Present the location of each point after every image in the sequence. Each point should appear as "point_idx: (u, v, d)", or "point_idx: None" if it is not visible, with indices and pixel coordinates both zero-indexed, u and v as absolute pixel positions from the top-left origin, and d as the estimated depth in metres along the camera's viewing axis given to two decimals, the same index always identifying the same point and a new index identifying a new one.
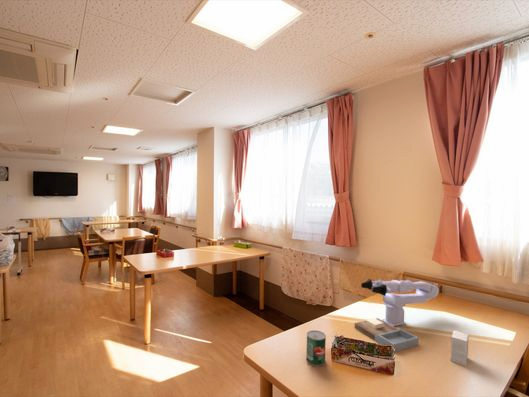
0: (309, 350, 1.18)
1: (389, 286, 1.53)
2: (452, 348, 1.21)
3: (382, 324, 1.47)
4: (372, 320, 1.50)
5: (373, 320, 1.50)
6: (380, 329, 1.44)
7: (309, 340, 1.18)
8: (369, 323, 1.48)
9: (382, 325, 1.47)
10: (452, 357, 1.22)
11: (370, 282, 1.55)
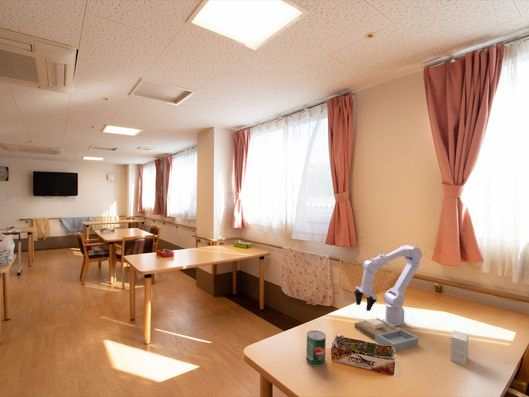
0: (309, 350, 1.18)
1: (369, 285, 1.52)
2: (452, 348, 1.21)
3: (382, 324, 1.47)
4: (372, 320, 1.50)
5: (373, 320, 1.50)
6: (380, 329, 1.44)
7: (309, 340, 1.18)
8: (369, 323, 1.48)
9: (382, 325, 1.47)
10: (452, 357, 1.22)
11: (358, 294, 1.58)
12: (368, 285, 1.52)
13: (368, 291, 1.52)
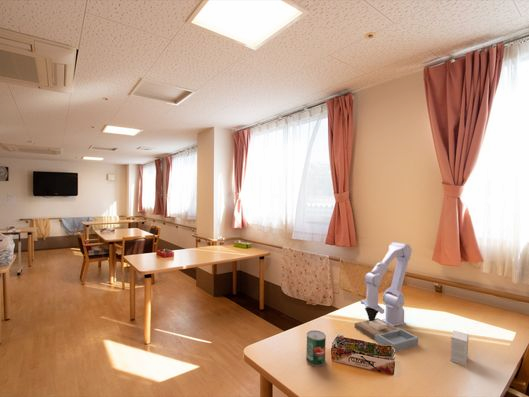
0: (309, 350, 1.18)
1: (374, 299, 1.48)
2: (452, 348, 1.21)
3: (385, 325, 1.45)
4: (375, 321, 1.48)
5: (375, 321, 1.49)
6: None
7: (309, 340, 1.18)
8: (372, 324, 1.46)
9: (385, 326, 1.45)
10: (452, 357, 1.22)
11: None
12: (373, 299, 1.48)
13: (374, 305, 1.48)
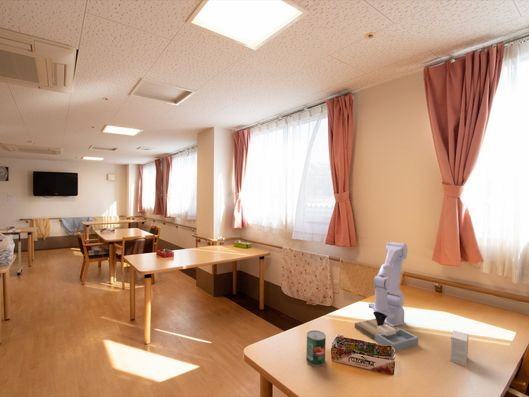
0: (309, 350, 1.18)
1: (383, 303, 1.42)
2: (452, 348, 1.21)
3: (394, 331, 1.40)
4: (384, 326, 1.43)
5: (384, 326, 1.43)
6: None
7: (309, 340, 1.18)
8: (380, 329, 1.41)
9: (394, 332, 1.40)
10: (452, 357, 1.22)
11: None
12: (382, 303, 1.42)
13: (383, 309, 1.42)
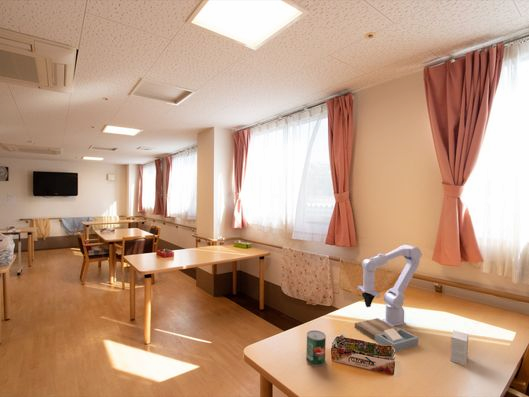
0: (309, 350, 1.18)
1: (371, 284, 1.53)
2: (452, 348, 1.21)
3: (400, 339, 1.36)
4: (391, 331, 1.39)
5: (391, 331, 1.39)
6: (380, 329, 1.44)
7: (309, 340, 1.18)
8: (387, 335, 1.37)
9: (400, 340, 1.36)
10: (452, 357, 1.22)
11: None
12: (370, 284, 1.53)
13: (370, 290, 1.53)
